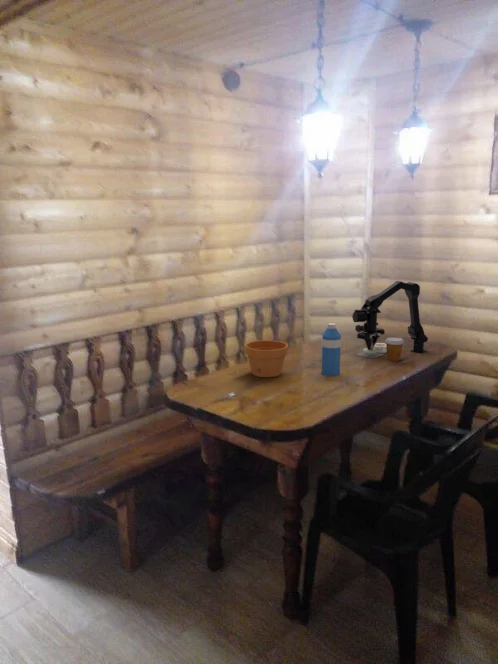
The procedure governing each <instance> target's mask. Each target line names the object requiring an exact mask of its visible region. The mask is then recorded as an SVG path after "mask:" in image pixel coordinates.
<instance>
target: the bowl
mask: <svg viewBox="0 0 498 664" xmlns="http://www.w3.org/2000/svg"><path fill="white" fill-rule="evenodd" d="M373 348H375V349H377V350H378V353H381V354H384V353H386V354H387V348H386V342H376V344H375V345H374V347H373Z"/></svg>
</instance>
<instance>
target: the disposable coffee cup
mask: <svg viewBox="0 0 498 664" xmlns="http://www.w3.org/2000/svg"><path fill="white" fill-rule="evenodd" d="M384 341H385V342H384V343H385V344H386V348H387V352H386V357H387V361H391V362H399V361H400V360H401V354H402V350H403V344H404V339H403V337H396V336H389V337H387V338H386V339H385V340H384Z"/></svg>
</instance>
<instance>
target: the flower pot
mask: <svg viewBox="0 0 498 664" xmlns="http://www.w3.org/2000/svg"><path fill="white" fill-rule="evenodd" d="M288 349H289V347H288V343H286V342H283V341H279V340H271V339H270V340H268V339H266V340H265V339H264V340H263V339H262V340H261V339H260V340H253V341H249V342H246V343H245V344H244V350H245V354H246V356H247V359H248V364H249V367H250V371H251V374H252V375H253V376H255V377H258V378H274V377H275V378H276V377H278V376H280V375H281V374H282V372H283V368H284V362H285V358H286V355H287V354H288Z"/></svg>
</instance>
